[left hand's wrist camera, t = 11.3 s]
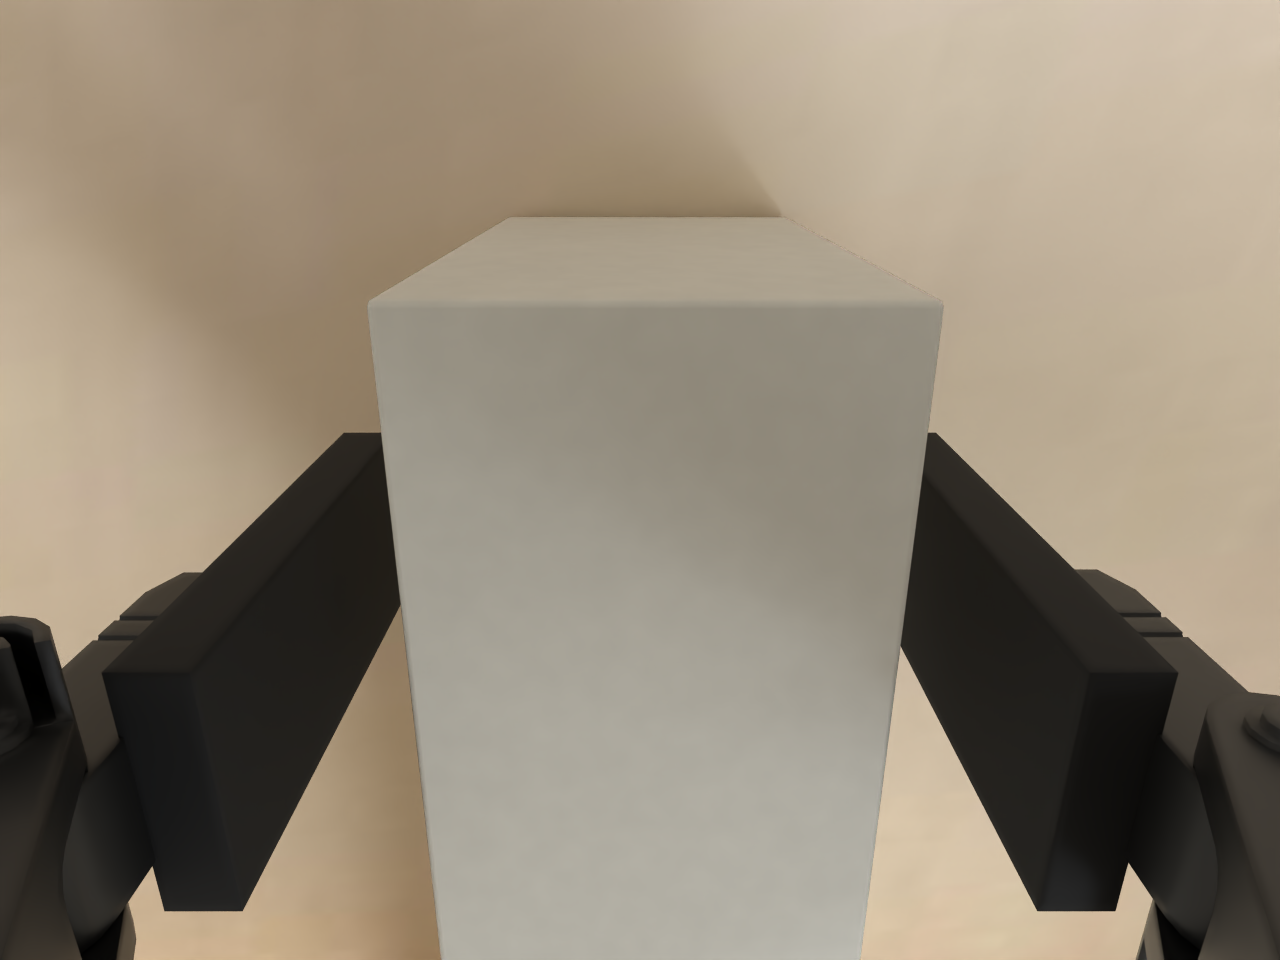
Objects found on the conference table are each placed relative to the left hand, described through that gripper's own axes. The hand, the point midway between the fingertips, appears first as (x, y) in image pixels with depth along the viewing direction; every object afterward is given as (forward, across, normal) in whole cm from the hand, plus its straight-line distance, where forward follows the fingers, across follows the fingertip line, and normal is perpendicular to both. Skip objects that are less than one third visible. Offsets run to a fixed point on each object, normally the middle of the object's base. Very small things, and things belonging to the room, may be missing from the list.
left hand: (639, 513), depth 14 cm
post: (+3, 0, -24) cm, 24 cm away
